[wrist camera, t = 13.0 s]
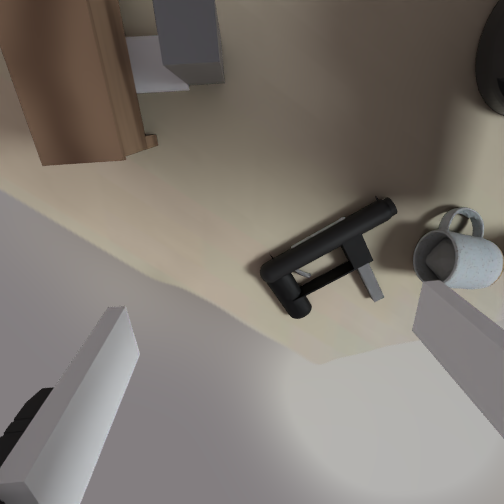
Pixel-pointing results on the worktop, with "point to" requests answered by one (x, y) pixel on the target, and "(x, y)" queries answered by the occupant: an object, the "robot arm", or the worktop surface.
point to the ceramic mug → (458, 255)
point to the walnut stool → (73, 79)
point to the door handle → (321, 243)
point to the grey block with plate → (178, 48)
